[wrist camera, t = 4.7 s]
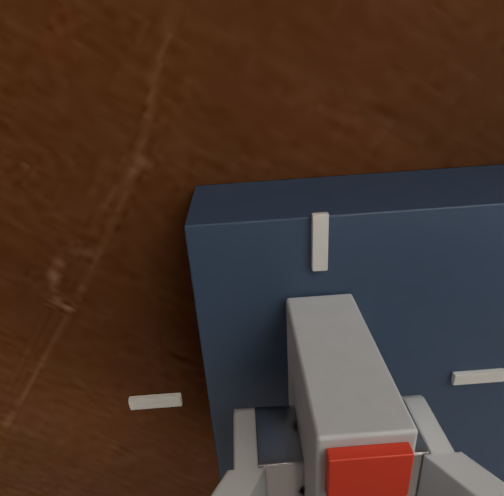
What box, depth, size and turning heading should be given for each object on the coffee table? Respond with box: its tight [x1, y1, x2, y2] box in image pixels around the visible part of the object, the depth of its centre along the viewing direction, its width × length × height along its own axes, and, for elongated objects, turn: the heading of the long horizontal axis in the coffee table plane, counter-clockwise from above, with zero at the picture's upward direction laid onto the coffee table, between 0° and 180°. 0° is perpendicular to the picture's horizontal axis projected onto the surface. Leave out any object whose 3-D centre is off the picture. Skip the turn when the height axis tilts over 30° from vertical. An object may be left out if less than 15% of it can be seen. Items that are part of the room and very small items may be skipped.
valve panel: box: [128, 164, 504, 482], centre depth 13 cm, size 14×10×3 cm
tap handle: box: [286, 294, 418, 496], centre depth 9 cm, size 6×2×4 cm, turn 3°
